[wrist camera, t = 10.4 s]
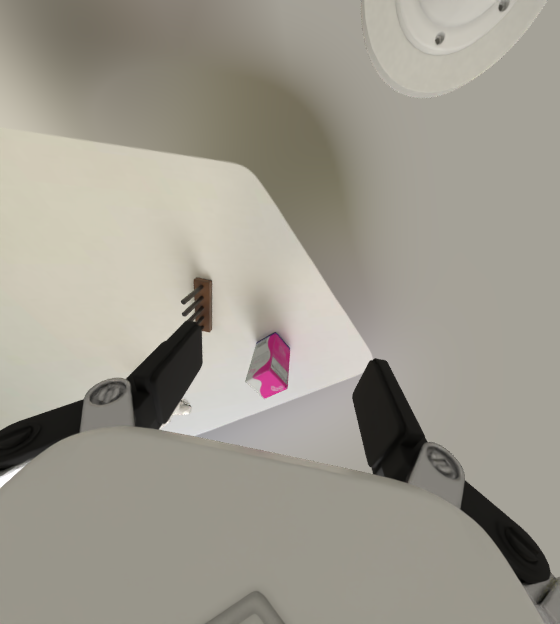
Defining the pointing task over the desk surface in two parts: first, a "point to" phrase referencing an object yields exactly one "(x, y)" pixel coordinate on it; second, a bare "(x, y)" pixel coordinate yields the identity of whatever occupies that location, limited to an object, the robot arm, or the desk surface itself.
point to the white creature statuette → (179, 411)
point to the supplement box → (269, 366)
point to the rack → (201, 304)
